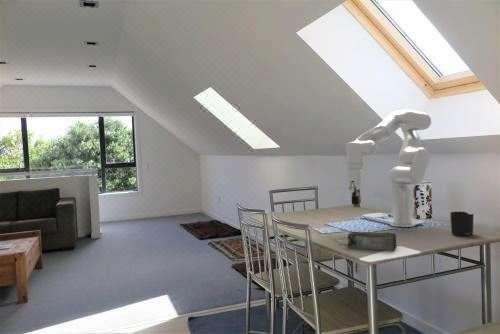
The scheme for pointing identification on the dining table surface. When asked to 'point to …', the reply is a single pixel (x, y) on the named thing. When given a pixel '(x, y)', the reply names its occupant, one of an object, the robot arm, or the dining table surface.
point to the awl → (358, 200)
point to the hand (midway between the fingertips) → (356, 203)
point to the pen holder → (461, 223)
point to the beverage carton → (372, 241)
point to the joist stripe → (344, 241)
